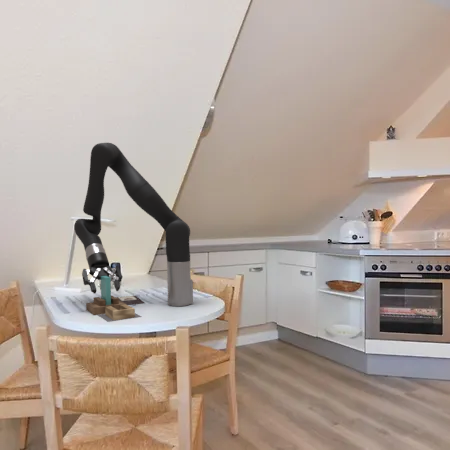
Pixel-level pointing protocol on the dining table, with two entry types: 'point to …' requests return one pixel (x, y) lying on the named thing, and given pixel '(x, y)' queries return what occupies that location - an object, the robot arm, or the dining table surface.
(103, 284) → the teal rectangular pillar
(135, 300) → the chocolate bar
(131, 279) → the dining table surface
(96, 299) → the brown wooden stand
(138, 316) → the mat
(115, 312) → the rack
